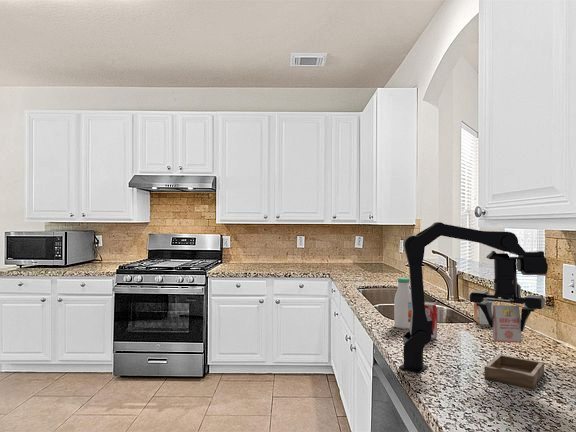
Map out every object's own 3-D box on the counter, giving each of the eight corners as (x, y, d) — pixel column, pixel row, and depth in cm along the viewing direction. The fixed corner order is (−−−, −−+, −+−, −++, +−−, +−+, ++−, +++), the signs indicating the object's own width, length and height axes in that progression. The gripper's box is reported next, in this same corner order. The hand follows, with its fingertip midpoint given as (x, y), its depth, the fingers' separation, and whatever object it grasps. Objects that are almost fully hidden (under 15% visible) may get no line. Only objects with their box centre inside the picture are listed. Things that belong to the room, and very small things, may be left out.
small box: (473, 320, 189) (473, 295, 189) (487, 320, 188) (487, 296, 188) (479, 324, 181) (479, 299, 181) (493, 324, 180) (493, 299, 181)
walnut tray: (533, 389, 113) (533, 376, 113) (484, 379, 121) (484, 366, 121) (544, 374, 123) (543, 362, 123) (498, 365, 131) (498, 354, 131)
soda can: (421, 334, 167) (421, 300, 167) (440, 337, 163) (439, 302, 163) (414, 338, 162) (413, 303, 162) (433, 341, 157) (432, 305, 157)
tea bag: (492, 338, 127) (491, 304, 128) (517, 339, 126) (517, 304, 126) (495, 341, 124) (494, 306, 124) (521, 342, 122) (520, 307, 122)
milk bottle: (402, 330, 174) (401, 280, 174) (390, 325, 181) (390, 277, 181) (417, 327, 177) (417, 278, 177) (405, 323, 184) (405, 276, 184)
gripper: (547, 273, 125) (548, 328, 125) (479, 270, 137) (480, 319, 137) (540, 278, 117) (541, 336, 116) (468, 273, 128) (469, 326, 128)
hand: (506, 329), depth 125 cm, fingers closed on tea bag, 8 cm apart
